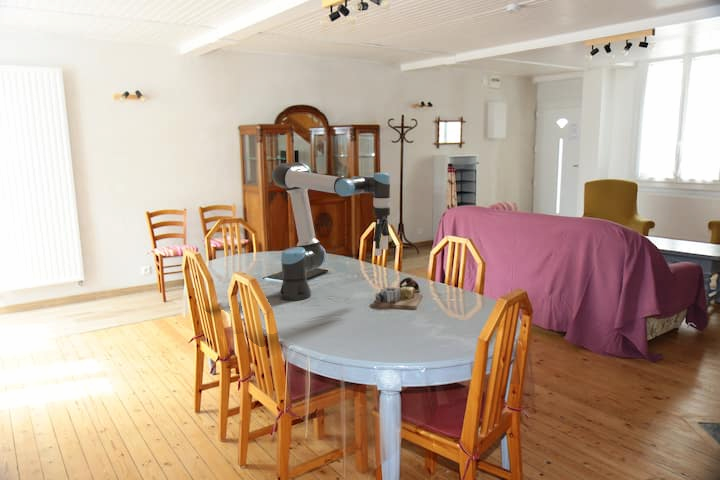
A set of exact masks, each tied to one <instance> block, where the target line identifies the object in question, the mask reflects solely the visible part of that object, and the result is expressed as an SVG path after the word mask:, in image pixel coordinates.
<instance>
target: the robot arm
mask: <svg viewBox="0 0 720 480" xmlns="http://www.w3.org/2000/svg"><path fill="white" fill-rule="evenodd" d="M271 177H272V181H273V182H274V184H275V185H276V186H277V187H280V188H285V189H286V191H285V192H287V193H288V194H289V195H290V200H291V201H290V202H291V208H292V212H293V217H294V222H295V228H296V234H297V238H298V242H297V244H296V246H292V247H288V248H286V249H283V251H282V252H281V258H280V260H281V261H280V262H281V271H282V274H281V275H282V282H281V287H280V290H279V298H280V299H281V298H282V299H281V300H284V299H285V301H300V300H306V299H309V298H310V297H311V296H312V290H311V288H310V285H309V283H308V278H307V272H310V271H312V270H316V269H318V268H320V267H321V266H323V265H324V263H326V260H327V253H326V249H325V248H324V247H323V245H321V243H320V240H318V239H317V238H316V233H315V229H314V228H315V227H314V222H313V217H312V209H311V205H310V199H309V194H308V191H309V190H313V191H318V192H319V191H320V192H325V193H331V194H337V195H339V196H340V197H350V196H354V195H358V194H373V197H372V198H373V200H372V201H373V203H372V204H373V214H372V215H373V216H375V217H377V218H376V219H375V227H374V235H373V240H372V242H374V256H380V257H381V256H382V250H385V251H386V250H388V249H389V248H388V247H389V246H388V245H389V244H388V242H389V241H388V240H389V239H388V238H389V237H388V236H390V230H389V220H388V216H390V215H391V209H390V206H391V202H392V200H391V196H390V195H391V175H390V174H389V172H375V173H373V176H361V175H357V176H356V175H354V176H352V177H349V178H347V177H342V176H333V175H328V174H322V173H320V174H319V173H314V172H312V171H311V168H310V167H309V165H307V164H306V163H304V162H297V161H295V162H287V163H286V162H283V163H279V164H277V165H276V166H275V167H274V168H273V169H272V172H271ZM308 297H309V298H308Z"/></svg>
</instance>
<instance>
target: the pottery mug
mask: <svg viewBox="0 0 720 480" xmlns="http://www.w3.org/2000/svg"><path fill="white" fill-rule="evenodd" d="M404 283H406V284H404ZM398 284H399V285H398V286H399V288H402V287H413V288H414V289H415V291H418V293H419V294H421V293H420V292H421V290H420V286H419V283H418V282H417V281H416V280H415V279H413V278H412V277H405V278H403V279H402V280H400V282H399V283H398ZM403 284H404V285H403Z"/></svg>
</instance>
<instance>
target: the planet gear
mask: <svg viewBox="0 0 720 480" xmlns="http://www.w3.org/2000/svg"><path fill="white" fill-rule="evenodd" d="M399 288H400V287H393V286H391V287H383V288H380V292H381V300H382V302H387V303H392V302H394V303H397V302H398V301H401V290H399ZM389 290H392V291H389Z"/></svg>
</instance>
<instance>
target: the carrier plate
mask: <svg viewBox="0 0 720 480" xmlns="http://www.w3.org/2000/svg"><path fill="white" fill-rule="evenodd" d="M398 288H399V290H401V301H398V302H397V303H394V302H392V303H387V302H382V300H381V291H380V292H376V293H375V300H374V301H373V302H372V305H371V306H372V308H382V309H383V308H385V309H404V310H405V309H407V310H409V309H410V310H417V309H418V307H419V305H420V302H422V299H423V295H424V294H423V293H419V292H416V290H415V289H414V287H402V288H400V287H398ZM389 291H392V290H389Z"/></svg>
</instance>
